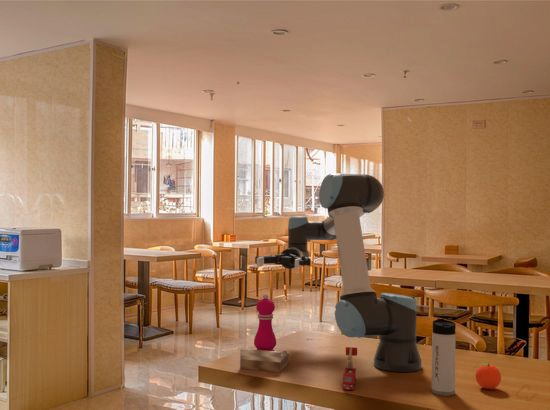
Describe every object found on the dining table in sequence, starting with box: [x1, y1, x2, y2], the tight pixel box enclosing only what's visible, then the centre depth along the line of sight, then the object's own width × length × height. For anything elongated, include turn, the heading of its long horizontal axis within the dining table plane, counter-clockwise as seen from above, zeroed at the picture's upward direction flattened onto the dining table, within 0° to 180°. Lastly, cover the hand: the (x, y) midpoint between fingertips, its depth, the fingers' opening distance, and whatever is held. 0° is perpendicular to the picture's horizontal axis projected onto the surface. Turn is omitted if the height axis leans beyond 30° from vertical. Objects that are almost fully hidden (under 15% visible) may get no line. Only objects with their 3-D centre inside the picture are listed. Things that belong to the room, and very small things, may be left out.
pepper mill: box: [253, 293, 277, 351], centre depth 189 cm, size 7×7×20 cm
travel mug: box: [431, 318, 457, 397], centre depth 164 cm, size 6×7×20 cm
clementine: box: [473, 363, 502, 390], centre depth 168 cm, size 8×7×7 cm
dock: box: [239, 347, 290, 373], centre depth 189 cm, size 13×11×6 cm
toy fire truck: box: [342, 346, 358, 391], centre depth 171 cm, size 3×14×10 cm, turn 168°
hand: (276, 262), depth 201 cm, fingers open, 13 cm apart
